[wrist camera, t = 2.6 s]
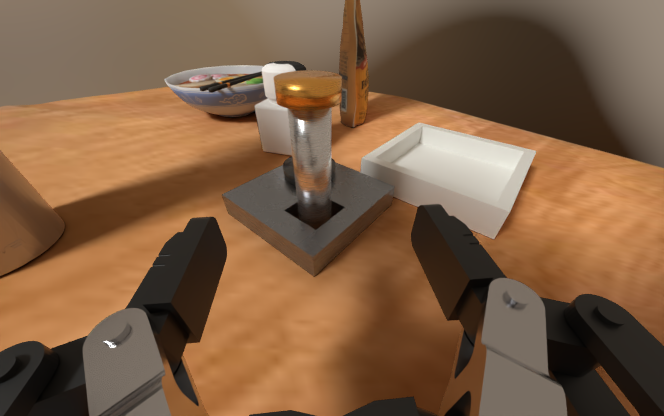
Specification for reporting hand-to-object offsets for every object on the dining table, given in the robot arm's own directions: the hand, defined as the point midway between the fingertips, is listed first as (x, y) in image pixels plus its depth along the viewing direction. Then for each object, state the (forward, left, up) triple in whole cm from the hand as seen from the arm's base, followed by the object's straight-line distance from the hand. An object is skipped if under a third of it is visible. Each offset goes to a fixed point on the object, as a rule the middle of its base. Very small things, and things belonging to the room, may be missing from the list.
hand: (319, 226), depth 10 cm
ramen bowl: (-47, +24, -11) cm, 54 cm away
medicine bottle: (-25, +20, -11) cm, 34 cm away
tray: (-2, +26, -11) cm, 28 cm away
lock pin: (-8, +8, -11) cm, 16 cm away
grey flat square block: (-11, +10, -11) cm, 18 cm away
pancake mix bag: (-27, +39, -11) cm, 48 cm away
